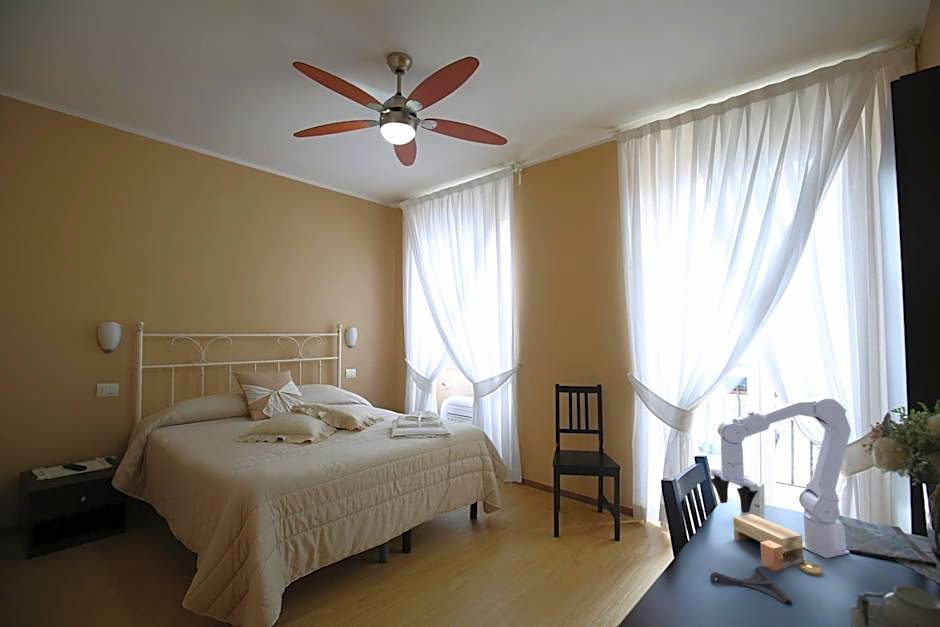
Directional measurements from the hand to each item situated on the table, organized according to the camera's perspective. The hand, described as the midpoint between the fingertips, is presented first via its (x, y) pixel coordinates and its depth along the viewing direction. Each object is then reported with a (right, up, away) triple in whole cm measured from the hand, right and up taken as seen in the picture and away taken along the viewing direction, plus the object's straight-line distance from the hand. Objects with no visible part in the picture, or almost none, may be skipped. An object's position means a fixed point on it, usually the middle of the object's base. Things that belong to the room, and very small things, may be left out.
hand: (734, 507), depth 129 cm
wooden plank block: (+6, -10, -6) cm, 13 cm away
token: (+9, -9, -17) cm, 22 cm away
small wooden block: (+4, -9, -14) cm, 17 cm away
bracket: (-12, -10, -23) cm, 28 cm away
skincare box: (+15, -11, +14) cm, 24 cm away
